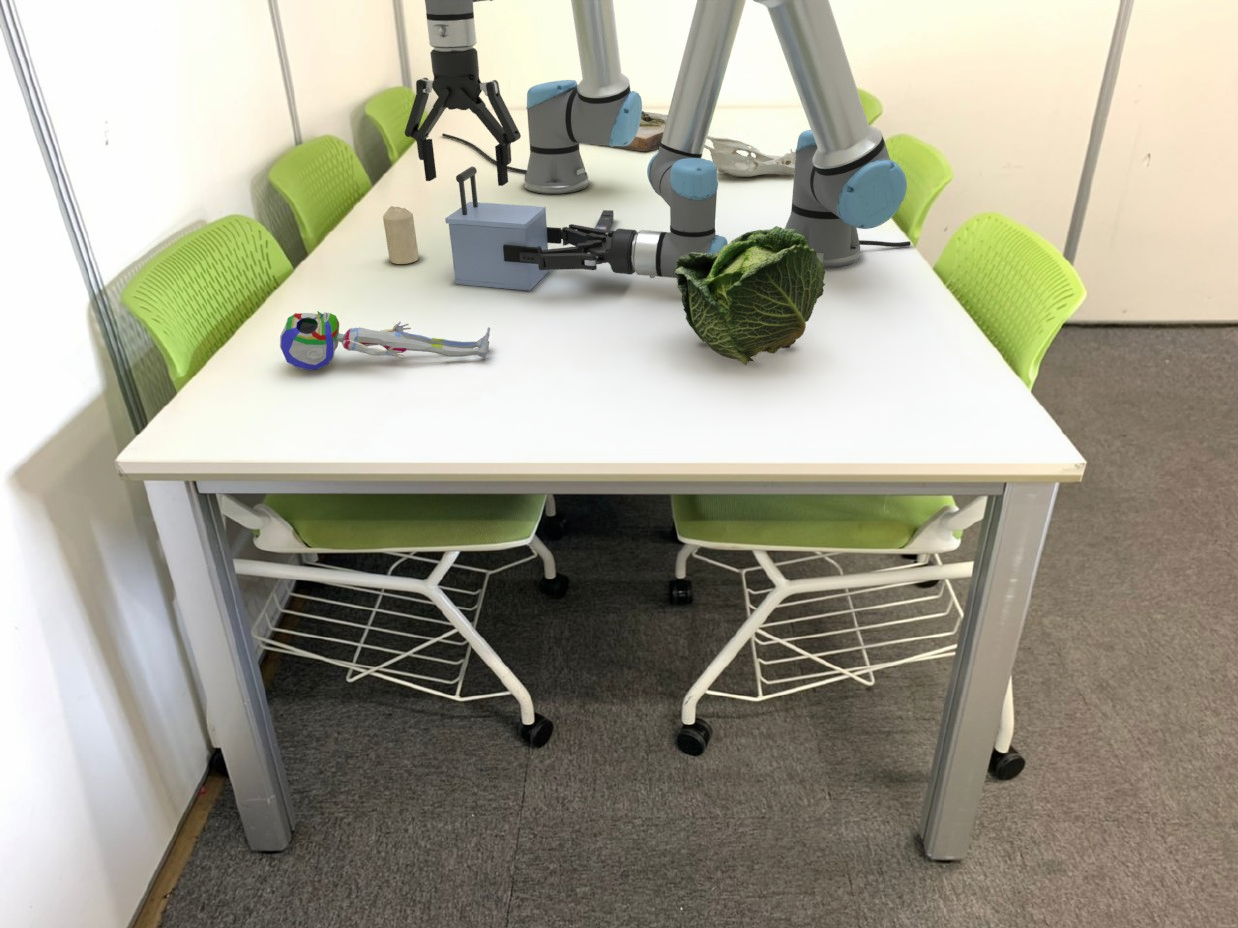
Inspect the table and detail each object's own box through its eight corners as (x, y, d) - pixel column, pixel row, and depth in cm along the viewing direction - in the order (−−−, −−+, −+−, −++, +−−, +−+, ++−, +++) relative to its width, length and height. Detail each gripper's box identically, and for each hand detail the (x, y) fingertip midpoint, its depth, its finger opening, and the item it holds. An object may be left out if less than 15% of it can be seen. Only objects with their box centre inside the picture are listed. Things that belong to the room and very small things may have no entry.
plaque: (647, 125, 237) (559, 112, 252) (647, 153, 241) (560, 139, 256) (706, 107, 258) (622, 97, 273) (705, 133, 262) (622, 121, 277)
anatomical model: (699, 130, 225) (800, 129, 221) (699, 167, 229) (797, 167, 226) (694, 144, 212) (801, 143, 208) (694, 183, 217) (798, 183, 213)
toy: (489, 339, 129) (271, 322, 124) (486, 391, 133) (275, 376, 129) (491, 312, 137) (286, 295, 133) (487, 362, 142) (290, 347, 137)
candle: (424, 256, 173) (417, 204, 168) (409, 265, 169) (401, 213, 164) (399, 253, 175) (391, 202, 170) (384, 262, 171) (375, 210, 165)
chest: (455, 284, 161) (448, 224, 155) (478, 265, 169) (472, 207, 164) (530, 291, 158) (525, 229, 152) (549, 271, 166) (545, 212, 160)
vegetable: (709, 376, 144) (648, 269, 136) (807, 309, 145) (751, 199, 137) (761, 404, 125) (693, 282, 118) (872, 327, 127) (812, 201, 119)
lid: (445, 223, 155) (440, 177, 151) (469, 206, 164) (464, 162, 160) (525, 229, 152) (521, 182, 148) (545, 211, 160) (543, 167, 156)
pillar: (613, 210, 190) (600, 241, 173) (613, 220, 191) (600, 251, 174) (603, 210, 190) (589, 240, 173) (603, 220, 191) (589, 251, 174)
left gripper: (372, 49, 144) (391, 182, 156) (517, 53, 138) (526, 191, 150) (394, 43, 150) (411, 172, 162) (534, 46, 145) (541, 180, 156)
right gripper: (618, 297, 147) (493, 285, 152) (652, 252, 165) (539, 243, 171) (618, 253, 143) (489, 242, 148) (652, 211, 161) (536, 203, 167)
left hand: (466, 181), depth 156 cm, fingers open, 13 cm apart
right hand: (515, 243), depth 159 cm, fingers closed on chest, 10 cm apart
